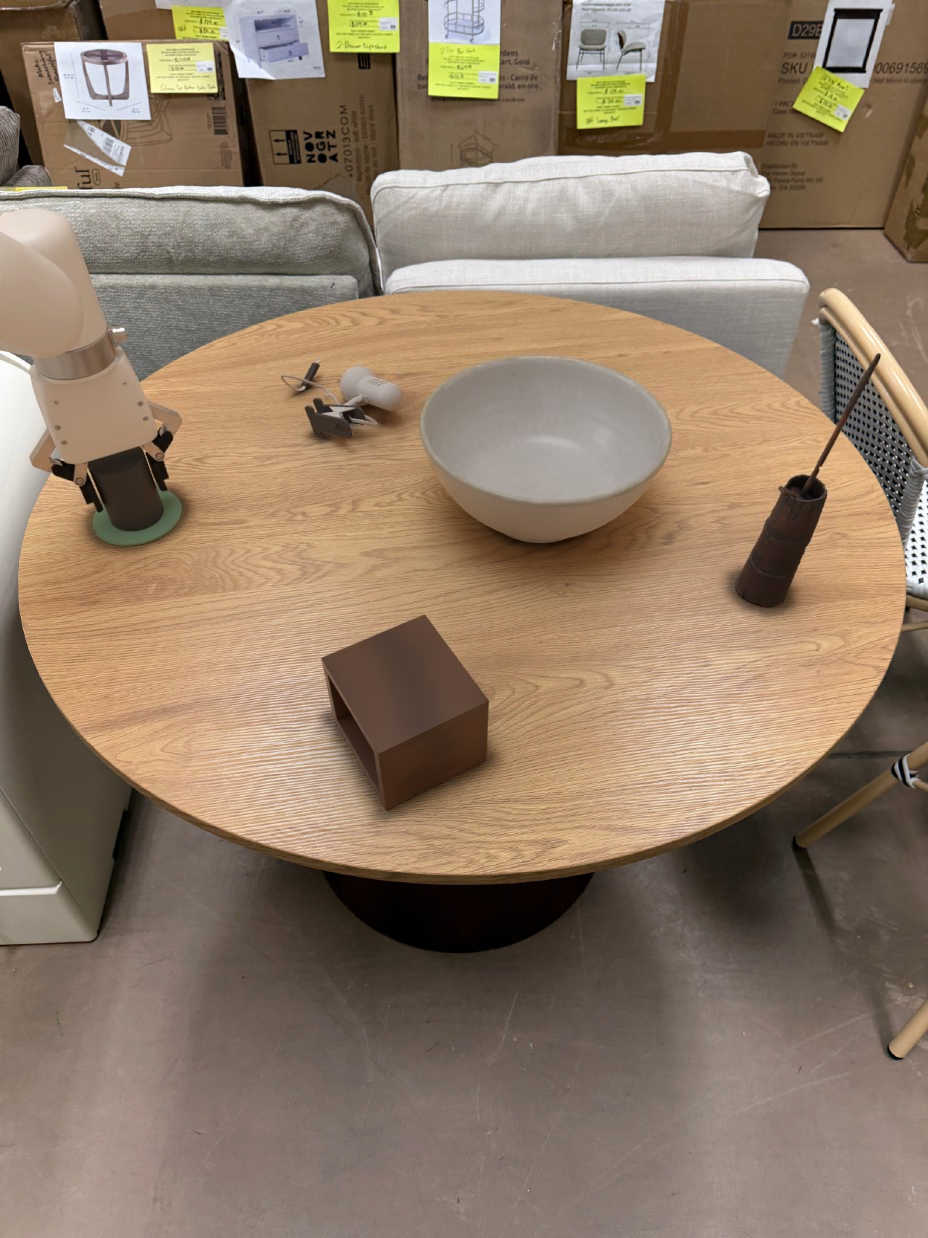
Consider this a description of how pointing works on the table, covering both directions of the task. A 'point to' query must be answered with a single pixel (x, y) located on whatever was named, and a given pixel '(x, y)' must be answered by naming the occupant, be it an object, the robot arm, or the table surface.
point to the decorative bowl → (544, 444)
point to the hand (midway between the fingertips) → (129, 493)
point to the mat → (149, 534)
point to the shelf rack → (407, 709)
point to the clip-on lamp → (357, 390)
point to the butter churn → (790, 526)
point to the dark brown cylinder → (127, 489)
